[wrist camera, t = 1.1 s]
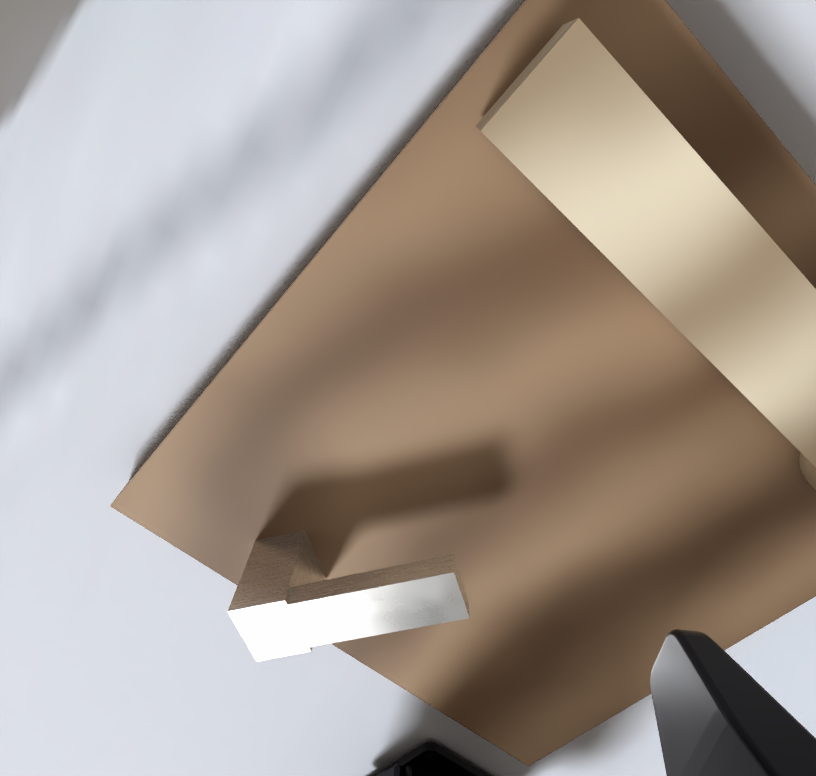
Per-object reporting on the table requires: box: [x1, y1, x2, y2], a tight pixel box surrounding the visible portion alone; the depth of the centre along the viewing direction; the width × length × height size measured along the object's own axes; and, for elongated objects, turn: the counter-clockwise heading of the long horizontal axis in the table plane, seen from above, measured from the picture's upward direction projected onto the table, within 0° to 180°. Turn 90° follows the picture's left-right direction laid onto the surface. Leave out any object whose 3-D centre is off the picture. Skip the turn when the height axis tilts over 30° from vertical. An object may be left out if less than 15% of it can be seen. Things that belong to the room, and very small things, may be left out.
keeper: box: [228, 530, 470, 661], centre depth 21 cm, size 8×2×3 cm, turn 107°
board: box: [111, 0, 816, 766], centre depth 22 cm, size 22×23×2 cm
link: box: [476, 18, 816, 490], centre depth 16 cm, size 18×4×3 cm, turn 49°
